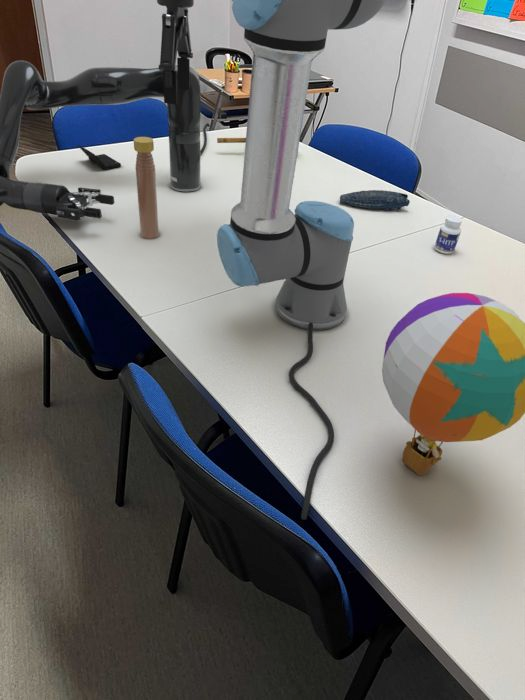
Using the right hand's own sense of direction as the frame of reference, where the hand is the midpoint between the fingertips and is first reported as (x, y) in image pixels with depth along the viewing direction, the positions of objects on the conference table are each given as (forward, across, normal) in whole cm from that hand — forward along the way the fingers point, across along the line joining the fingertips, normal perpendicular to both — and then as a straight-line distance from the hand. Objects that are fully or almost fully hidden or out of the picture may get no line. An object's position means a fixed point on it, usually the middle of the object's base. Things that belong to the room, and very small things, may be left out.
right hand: (177, 96), depth 118 cm
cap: (+9, -6, +7) cm, 13 cm away
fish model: (+33, +29, -54) cm, 69 cm away
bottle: (+33, -6, +7) cm, 34 cm away
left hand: (+27, -5, +18) cm, 32 cm away
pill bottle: (+32, +4, -71) cm, 78 cm away
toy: (+32, -72, -53) cm, 95 cm away
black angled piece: (+33, +39, +35) cm, 62 cm away
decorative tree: (+33, +65, -14) cm, 75 cm away
